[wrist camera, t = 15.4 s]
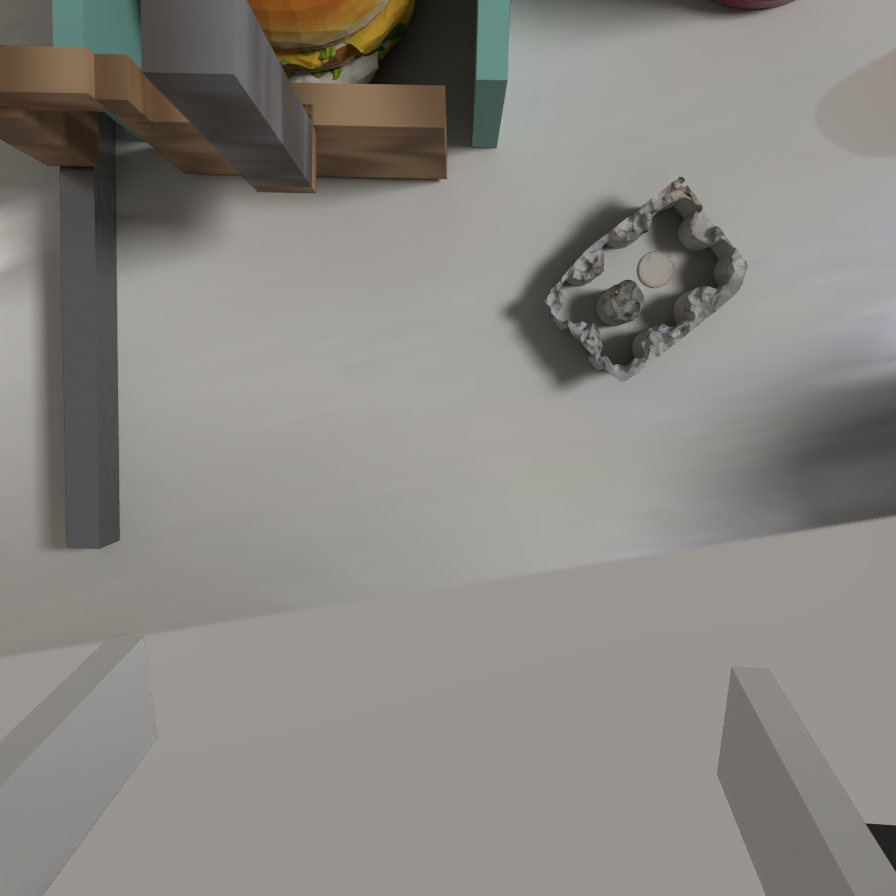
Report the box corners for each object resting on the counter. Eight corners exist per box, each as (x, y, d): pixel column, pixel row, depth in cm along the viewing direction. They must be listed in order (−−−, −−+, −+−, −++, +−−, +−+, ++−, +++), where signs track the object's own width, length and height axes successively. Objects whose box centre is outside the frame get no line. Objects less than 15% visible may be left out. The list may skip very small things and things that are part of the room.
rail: (114, 63, 42) (92, 42, 39) (119, 540, 44) (99, 548, 42) (81, 63, 42) (57, 42, 39) (88, 539, 44) (66, 547, 42)
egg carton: (665, 187, 42) (687, 164, 38) (739, 282, 43) (769, 270, 39) (530, 298, 43) (538, 287, 39) (604, 391, 43) (620, 390, 39)
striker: (447, 136, 42) (439, -104, 22) (445, 229, 42) (435, 78, 22) (70, 128, 42) (-282, -116, 22) (72, 220, 42) (-273, 64, 22)
